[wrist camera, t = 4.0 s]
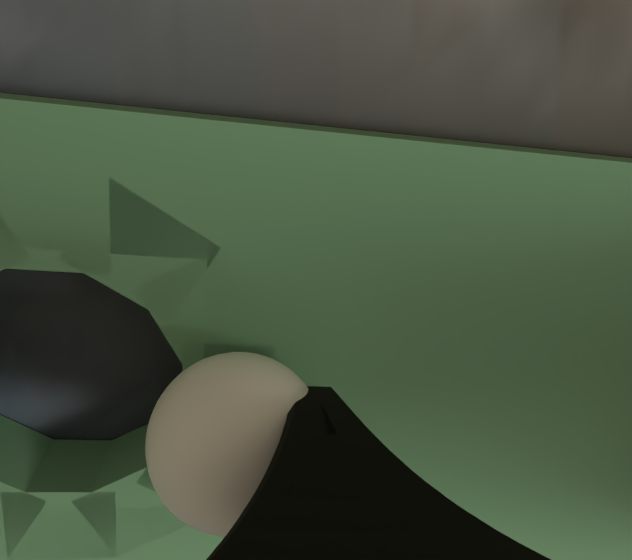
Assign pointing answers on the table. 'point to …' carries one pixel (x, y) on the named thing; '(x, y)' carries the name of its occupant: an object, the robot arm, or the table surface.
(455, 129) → the table surface
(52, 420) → the table surface
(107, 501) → the green
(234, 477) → the ball
